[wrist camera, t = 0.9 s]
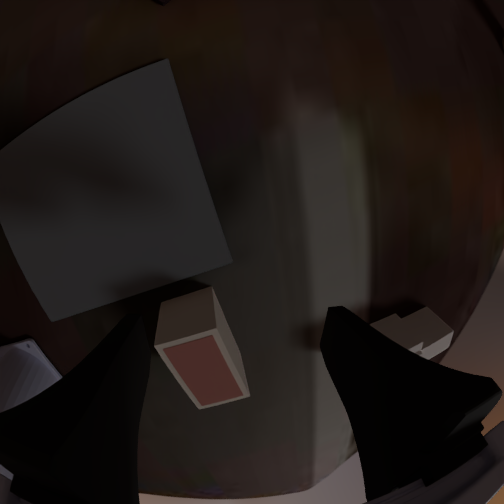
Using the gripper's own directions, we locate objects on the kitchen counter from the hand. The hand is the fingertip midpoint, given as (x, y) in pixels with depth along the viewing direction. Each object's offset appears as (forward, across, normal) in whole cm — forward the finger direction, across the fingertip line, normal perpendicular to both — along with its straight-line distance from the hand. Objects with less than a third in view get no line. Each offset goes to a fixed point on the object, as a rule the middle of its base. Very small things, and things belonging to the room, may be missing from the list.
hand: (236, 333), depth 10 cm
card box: (+9, +2, +7) cm, 12 cm away
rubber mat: (+9, +9, -3) cm, 13 cm away
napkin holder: (+10, -16, +10) cm, 22 cm away
